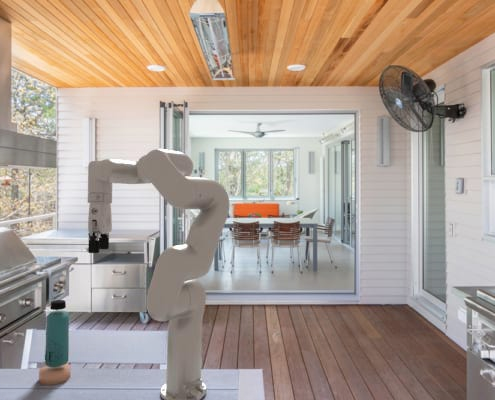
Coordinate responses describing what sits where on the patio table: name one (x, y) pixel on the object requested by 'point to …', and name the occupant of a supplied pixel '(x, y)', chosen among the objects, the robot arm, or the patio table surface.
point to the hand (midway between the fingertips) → (98, 250)
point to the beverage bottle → (57, 335)
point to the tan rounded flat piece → (54, 374)
